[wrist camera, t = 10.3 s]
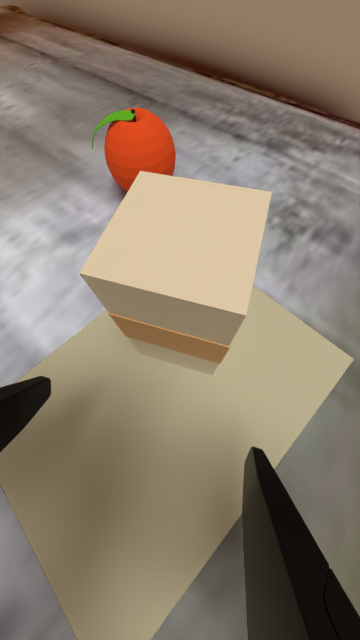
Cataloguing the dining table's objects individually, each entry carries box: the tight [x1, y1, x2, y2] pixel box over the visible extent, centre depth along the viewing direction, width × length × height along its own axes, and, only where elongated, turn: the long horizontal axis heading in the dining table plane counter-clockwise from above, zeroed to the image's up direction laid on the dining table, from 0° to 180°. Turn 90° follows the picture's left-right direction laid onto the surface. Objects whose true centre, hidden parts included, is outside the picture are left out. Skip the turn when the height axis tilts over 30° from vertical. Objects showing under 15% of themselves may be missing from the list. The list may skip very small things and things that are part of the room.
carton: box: [79, 171, 272, 376], centre depth 12 cm, size 6×6×10 cm
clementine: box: [92, 108, 176, 191], centre depth 22 cm, size 8×7×7 cm
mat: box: [0, 285, 354, 640], centre depth 15 cm, size 22×16×1 cm
